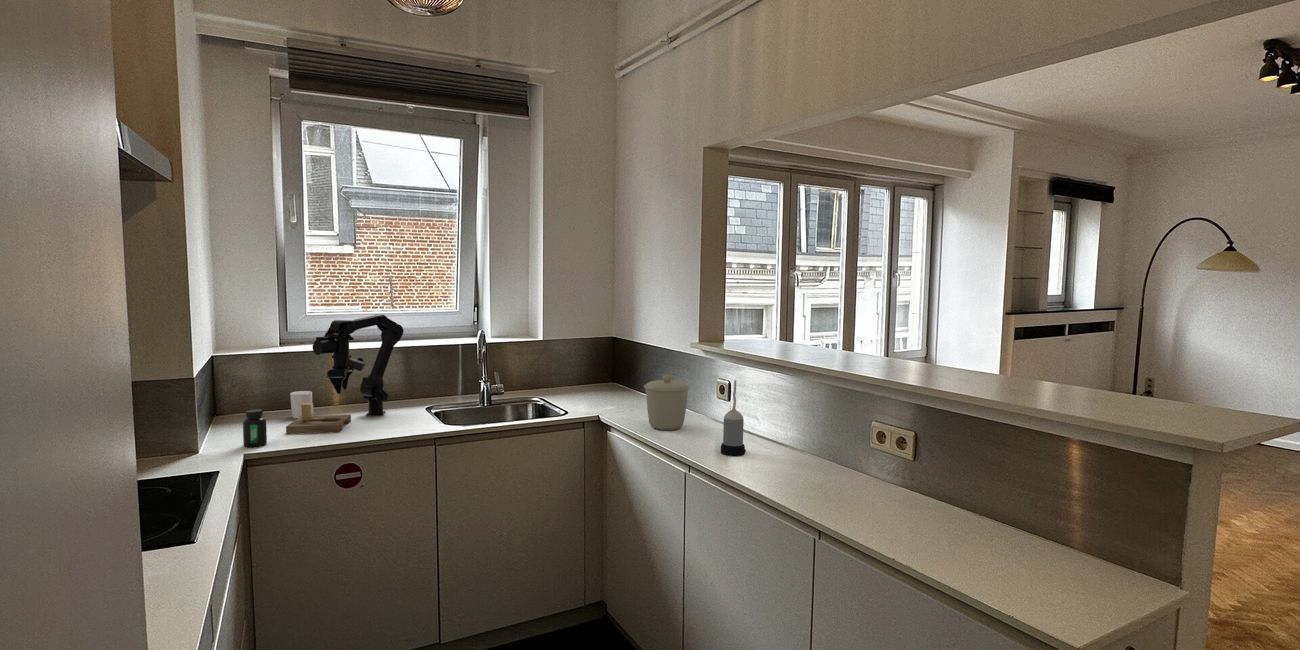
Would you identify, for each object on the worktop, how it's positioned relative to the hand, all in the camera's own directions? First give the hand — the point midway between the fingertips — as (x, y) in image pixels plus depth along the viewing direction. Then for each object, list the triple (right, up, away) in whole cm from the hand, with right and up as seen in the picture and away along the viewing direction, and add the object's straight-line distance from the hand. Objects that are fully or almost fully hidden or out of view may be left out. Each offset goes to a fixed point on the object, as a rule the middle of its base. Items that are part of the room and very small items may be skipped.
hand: (342, 391), depth 258 cm
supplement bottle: (-13, -15, -35) cm, 40 cm away
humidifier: (+150, -18, -35) cm, 155 cm away
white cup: (-20, -11, +8) cm, 24 cm away
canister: (+128, -14, 0) cm, 129 cm away
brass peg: (-8, -13, -10) cm, 18 cm away
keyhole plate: (-4, -13, -9) cm, 16 cm away
